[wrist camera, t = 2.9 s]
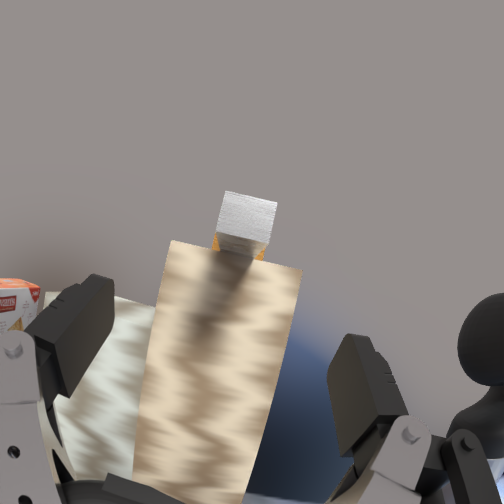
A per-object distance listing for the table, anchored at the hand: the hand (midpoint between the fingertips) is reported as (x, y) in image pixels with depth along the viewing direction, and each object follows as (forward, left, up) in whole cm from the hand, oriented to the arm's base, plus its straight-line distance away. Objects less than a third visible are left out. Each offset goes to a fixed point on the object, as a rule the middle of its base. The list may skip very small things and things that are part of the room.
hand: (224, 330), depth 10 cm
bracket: (0, -17, +4) cm, 17 cm away
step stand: (+6, -24, -28) cm, 37 cm away
